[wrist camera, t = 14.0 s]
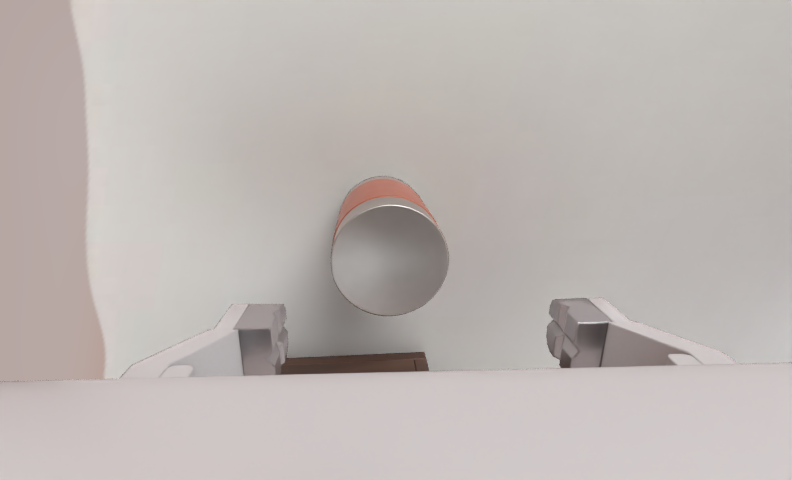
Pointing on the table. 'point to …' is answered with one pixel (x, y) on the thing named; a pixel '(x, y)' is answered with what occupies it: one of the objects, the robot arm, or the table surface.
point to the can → (387, 248)
